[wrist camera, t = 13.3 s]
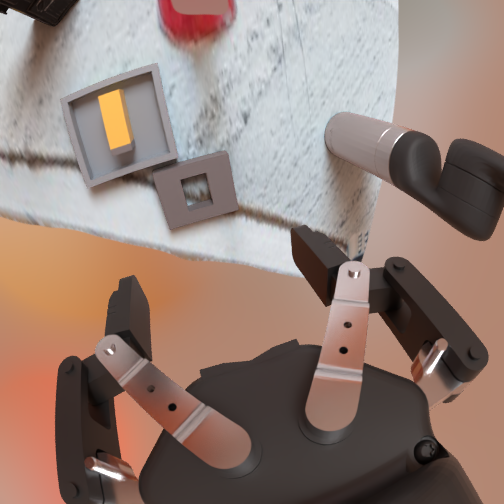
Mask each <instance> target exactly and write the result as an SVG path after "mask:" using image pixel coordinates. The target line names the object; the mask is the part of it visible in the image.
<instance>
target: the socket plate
mask: <svg viewBox="0 0 504 504" xmlns="http://www.w3.org/2000/svg"><path fill="white" fill-rule="evenodd" d="M203 173H205V174H206V179H207V183H208V188H209V192H210V196H211V199H210V200H206V201H203V202H199V203H196V204H192V205H189V206H187V202H186V198H185V195H184V191H183V187H182V184H181V179H185V178H188V177H192V176H195V175H199V174H203ZM152 175H153V178H154V182H155V185H156V188H157V192H158V195H159V198H160V201H161V204H162V207H163V210H164V214H165V217H166V220H167V223H168V226H169V229H170V230H171V229H174V228H177V227H181V226H184V225H187V224H191V223H194V222H197V221H201V220H204V219H208V218H211V217H215V216H218V215H222V214H225V213H229V212H233V211H236V210H239V209H238V203H237V198H236V193H235V188H234V182H233V177H232V172H231V166H230V161H229V155H228V153H227V152H226V151H225V150H224V151H220V152H216V153H212V154H208V155H204V156H200V157H196V158H193V159H189V160H185V161H182V162H178V163H175V164H171V165H168V166H165V167H161V168H158V169H155V170H153V173H152Z"/></svg>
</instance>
